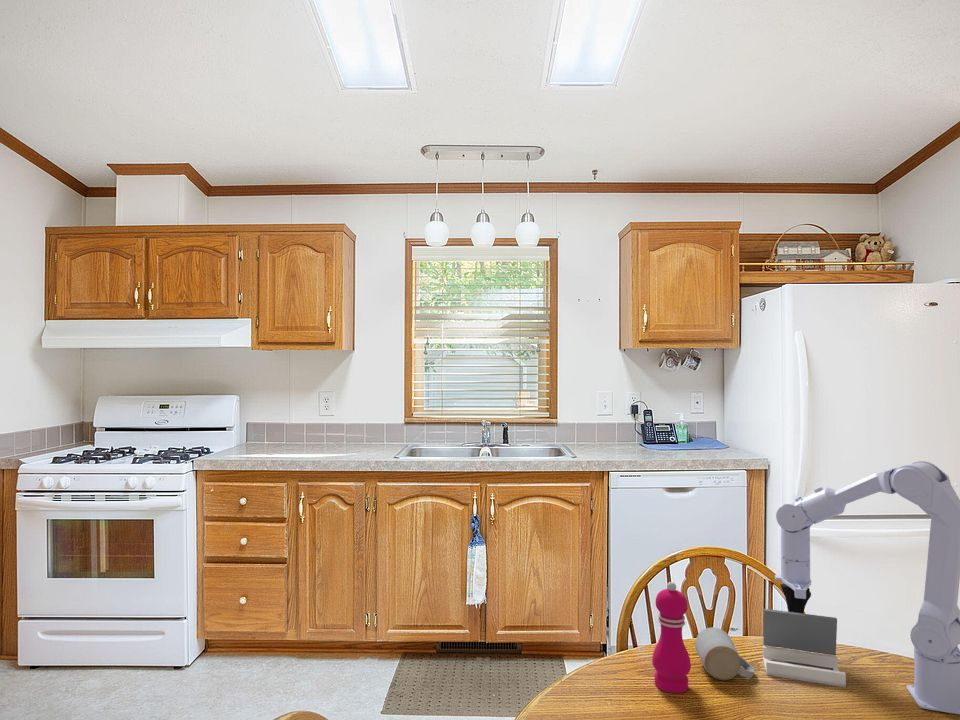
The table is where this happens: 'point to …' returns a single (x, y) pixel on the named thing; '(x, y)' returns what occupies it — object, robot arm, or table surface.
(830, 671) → the cable duct
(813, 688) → the table surface
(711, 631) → the ceramic mug
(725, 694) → the table surface
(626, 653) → the table surface
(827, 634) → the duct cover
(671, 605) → the pepper mill
